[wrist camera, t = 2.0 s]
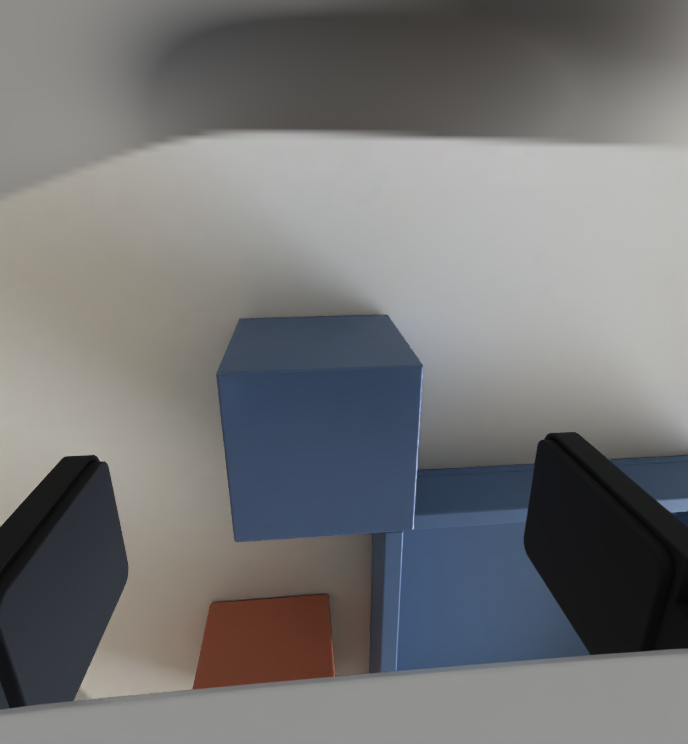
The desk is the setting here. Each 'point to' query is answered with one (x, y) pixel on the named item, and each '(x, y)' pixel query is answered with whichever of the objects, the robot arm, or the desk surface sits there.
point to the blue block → (320, 426)
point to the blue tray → (480, 570)
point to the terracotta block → (266, 642)
